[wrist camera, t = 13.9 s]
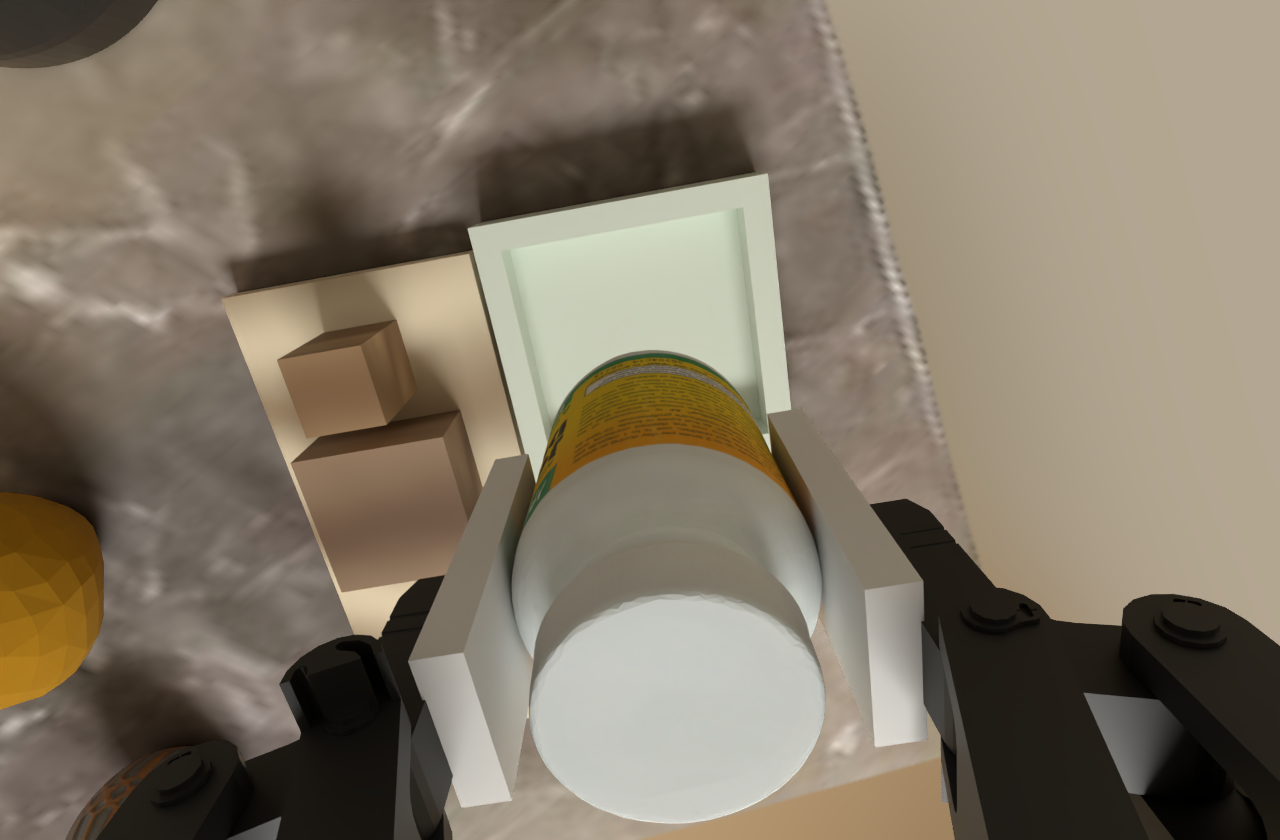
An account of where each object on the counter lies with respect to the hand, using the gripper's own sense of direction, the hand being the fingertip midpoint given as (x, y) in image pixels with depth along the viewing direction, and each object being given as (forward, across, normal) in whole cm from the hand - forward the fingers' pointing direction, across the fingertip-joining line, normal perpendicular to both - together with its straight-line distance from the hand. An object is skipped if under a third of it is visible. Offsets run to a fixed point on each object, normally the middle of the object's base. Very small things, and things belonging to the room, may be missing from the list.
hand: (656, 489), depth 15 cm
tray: (+14, 0, 0) cm, 14 cm away
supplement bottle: (+3, 0, 0) cm, 3 cm away
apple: (+15, -28, -5) cm, 32 cm away
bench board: (+14, -11, -7) cm, 19 cm away
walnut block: (+13, -11, -4) cm, 18 cm away
